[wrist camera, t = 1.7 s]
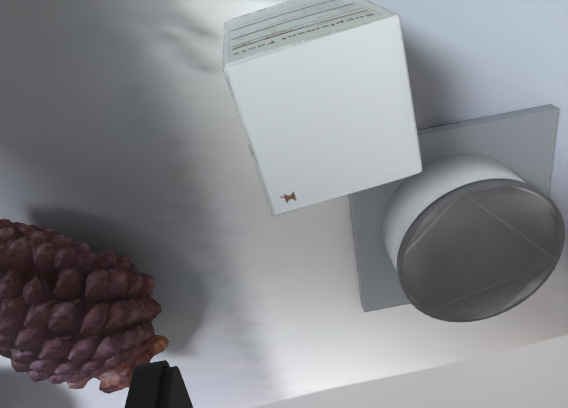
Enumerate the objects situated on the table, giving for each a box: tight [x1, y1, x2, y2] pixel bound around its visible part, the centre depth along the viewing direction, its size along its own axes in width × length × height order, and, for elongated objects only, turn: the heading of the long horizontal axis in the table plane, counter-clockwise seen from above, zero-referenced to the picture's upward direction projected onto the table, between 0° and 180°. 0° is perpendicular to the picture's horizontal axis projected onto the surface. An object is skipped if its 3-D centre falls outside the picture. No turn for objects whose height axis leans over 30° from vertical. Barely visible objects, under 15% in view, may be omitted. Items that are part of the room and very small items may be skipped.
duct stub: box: [349, 104, 565, 322], centre depth 36 cm, size 15×15×6 cm
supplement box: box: [223, 0, 422, 216], centre depth 26 cm, size 7×7×13 cm
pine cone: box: [0, 219, 169, 393], centre depth 33 cm, size 18×10×10 cm, turn 36°
